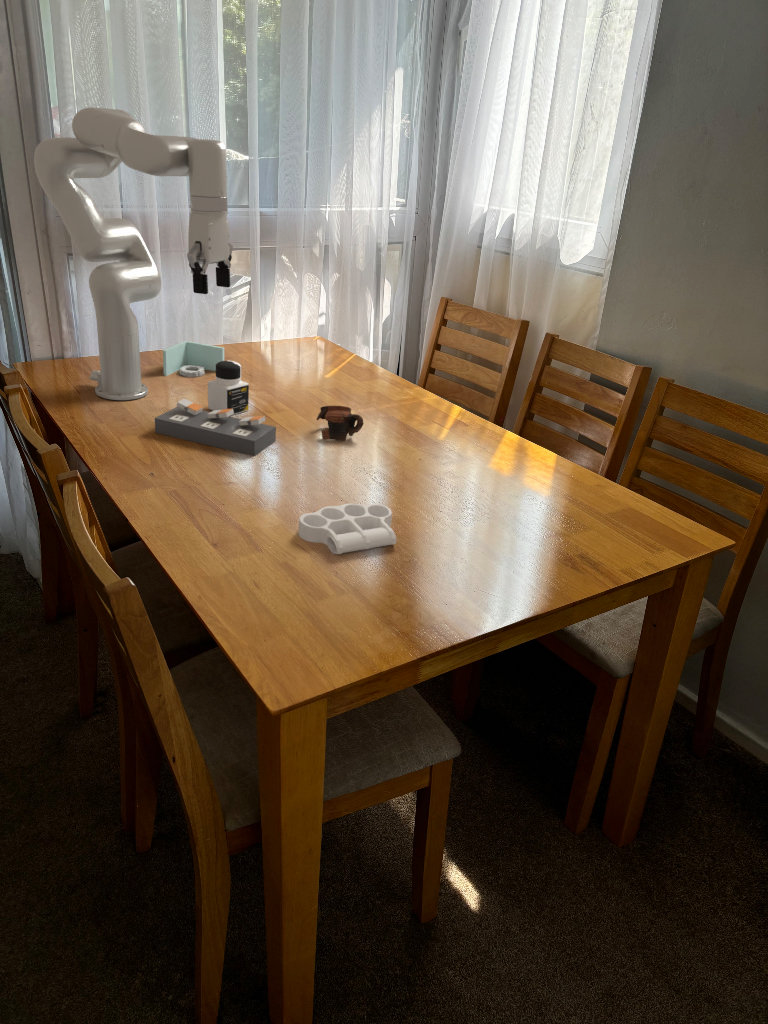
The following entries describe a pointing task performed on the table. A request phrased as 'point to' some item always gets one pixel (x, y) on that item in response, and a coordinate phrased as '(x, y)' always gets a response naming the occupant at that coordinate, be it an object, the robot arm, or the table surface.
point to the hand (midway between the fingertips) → (212, 289)
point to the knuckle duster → (348, 527)
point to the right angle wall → (191, 358)
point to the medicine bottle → (228, 388)
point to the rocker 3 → (252, 420)
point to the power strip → (216, 431)
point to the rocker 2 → (220, 413)
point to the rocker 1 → (189, 406)
